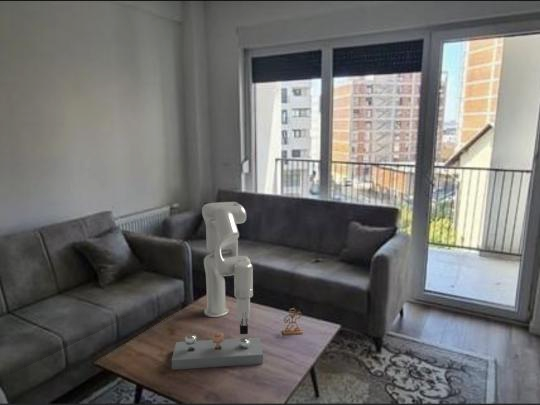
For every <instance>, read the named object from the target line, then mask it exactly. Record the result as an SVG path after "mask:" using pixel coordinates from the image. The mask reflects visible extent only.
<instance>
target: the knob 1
mask: <svg viewBox="0 0 540 405" xmlns="http://www.w3.org/2000/svg"><path fill="white" fill-rule="evenodd" d="M184 340H185V341H184V342H185V343H186V344H187V345H189V350H193V344H195V343H196V341H197V335H196V334H195V333H188V334H187V335H185V336H184Z"/></svg>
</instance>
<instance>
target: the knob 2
mask: <svg viewBox="0 0 540 405" xmlns="http://www.w3.org/2000/svg"><path fill="white" fill-rule="evenodd" d="M240 338H241V339H240V340H239V347H240V348H243V349H246V348H249V347H250V339H248V338H249V337H240Z"/></svg>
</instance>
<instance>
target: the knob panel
mask: <svg viewBox="0 0 540 405" xmlns="http://www.w3.org/2000/svg"><path fill="white" fill-rule="evenodd" d="M241 338H242V337H240V338H239V337H238V338H225V339H224V338H223V342H221V343H220V348H219V349H217V348H216V343H214V342H213V339H207V340H203V339H202V340H196V343H195V344H193V350H189V345H187V344H186V343H185V341H176V342H175V346H174V350H173V353H172V357H171V370H187V369H201V368H216V367H231V366H232V367H233V366H248V365H249V366H251V365H263V364H264V357H263V355H264V353H263V349H262V348H263V347H262V342H261V337H259V336H258V337H247V338H248V339H250V347H249V348H246V349H243V348H240V347H239V340H240V339H241Z"/></svg>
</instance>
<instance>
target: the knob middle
mask: <svg viewBox="0 0 540 405" xmlns="http://www.w3.org/2000/svg"><path fill="white" fill-rule="evenodd" d="M211 339H212V340H213V342H214V343H216V348H217V349H219V348H220V343H221V342H223V339H224V333H223V332H219V331H218V332H215V333H213V334H212V337H211Z"/></svg>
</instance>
